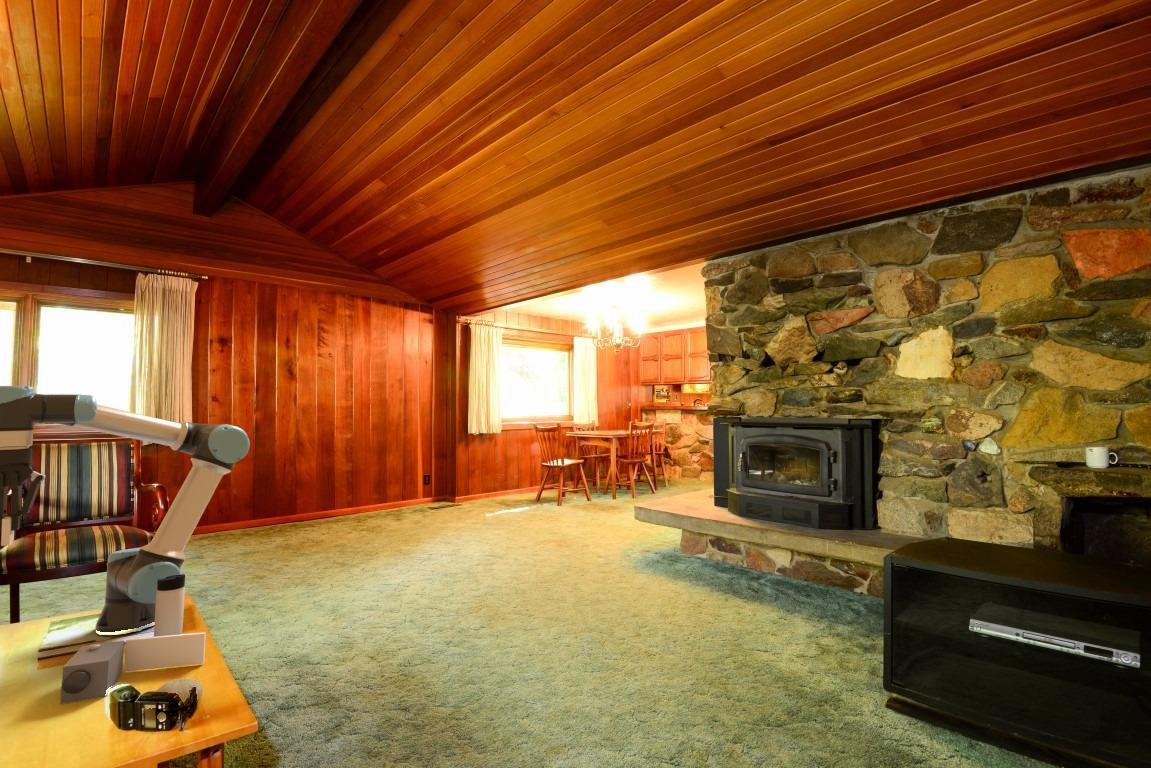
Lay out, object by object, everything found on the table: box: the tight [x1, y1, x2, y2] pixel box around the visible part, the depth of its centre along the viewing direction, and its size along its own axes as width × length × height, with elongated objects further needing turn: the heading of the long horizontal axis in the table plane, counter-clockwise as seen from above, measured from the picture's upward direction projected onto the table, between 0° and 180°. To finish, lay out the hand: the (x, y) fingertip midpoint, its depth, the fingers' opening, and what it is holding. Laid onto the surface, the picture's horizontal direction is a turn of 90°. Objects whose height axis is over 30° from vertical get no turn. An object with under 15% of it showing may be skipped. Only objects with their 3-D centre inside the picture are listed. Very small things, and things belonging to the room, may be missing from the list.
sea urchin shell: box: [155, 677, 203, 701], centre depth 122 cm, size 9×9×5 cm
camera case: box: [59, 640, 125, 705], centre depth 127 cm, size 14×8×9 cm, turn 27°
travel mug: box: [153, 573, 186, 637], centre depth 149 cm, size 6×7×20 cm
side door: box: [123, 632, 207, 673], centre depth 138 cm, size 17×1×8 cm, turn 107°
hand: (7, 544), depth 133 cm, fingers closed
